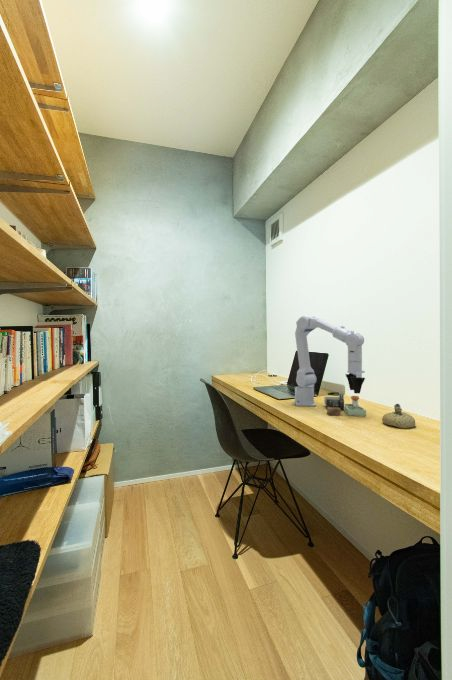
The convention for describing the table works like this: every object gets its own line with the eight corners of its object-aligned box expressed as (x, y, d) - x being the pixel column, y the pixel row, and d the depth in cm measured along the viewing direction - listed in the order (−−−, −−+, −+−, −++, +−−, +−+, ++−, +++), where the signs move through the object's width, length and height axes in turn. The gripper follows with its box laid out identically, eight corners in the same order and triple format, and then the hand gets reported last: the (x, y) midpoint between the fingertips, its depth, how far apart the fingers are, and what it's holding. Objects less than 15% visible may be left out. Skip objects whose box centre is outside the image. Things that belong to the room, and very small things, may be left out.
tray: (348, 415, 134) (348, 409, 134) (344, 411, 141) (344, 405, 141) (366, 416, 132) (366, 410, 132) (361, 411, 140) (361, 406, 140)
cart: (327, 410, 143) (327, 395, 143) (324, 405, 152) (324, 391, 152) (345, 410, 142) (345, 395, 141) (341, 405, 151) (341, 391, 151)
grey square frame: (347, 410, 143) (347, 406, 143) (344, 407, 149) (344, 403, 148) (360, 410, 142) (360, 406, 142) (357, 407, 148) (357, 404, 148)
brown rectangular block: (329, 416, 134) (328, 409, 134) (327, 413, 138) (327, 407, 138) (340, 416, 134) (340, 409, 134) (338, 414, 137) (338, 407, 137)
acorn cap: (419, 425, 121) (400, 404, 126) (419, 422, 112) (398, 399, 118) (397, 439, 123) (379, 418, 128) (395, 437, 114) (376, 414, 120)
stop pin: (352, 413, 136) (352, 397, 135) (350, 411, 139) (350, 395, 138) (359, 413, 135) (359, 397, 135) (358, 411, 138) (357, 395, 138)
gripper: (369, 362, 128) (369, 395, 128) (359, 359, 142) (359, 388, 143) (351, 362, 129) (351, 394, 130) (343, 359, 144) (343, 388, 144)
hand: (354, 391), depth 136 cm, fingers open, 7 cm apart
